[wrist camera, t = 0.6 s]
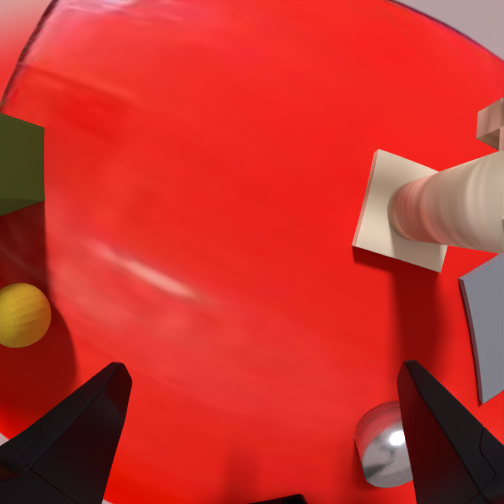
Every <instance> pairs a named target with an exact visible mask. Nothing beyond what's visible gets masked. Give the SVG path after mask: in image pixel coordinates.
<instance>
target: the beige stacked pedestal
mask: <svg viewBox="0 0 504 504" xmlns="http://www.w3.org/2000/svg"><path fill="white" fill-rule="evenodd" d="M476 139H478V140H480V141H482V142H484V143H486V144H487V145H489V146H491V147H493V148H495V149H496V150H498V151H499V152H496V153H493V154H490V155H487V156H484V157H481V158H478V159H475V160H473V161H470V162H467V163H464V164H461V165H458V166H455V167H452V168H449V169H446V170H444V171H441V172H438V171H435V170H433V169H430V168H428V167H426V166H423V165H421V164H418V163H415V162H413V161H410V160H408V159H405V158H402V157H400V156H397V155H394V154H391V153H388V152H386V151H383V150H380V149H378V150H377V151H376V152H375V153H374V157H373V162H372V167H371V171H370V176H369V180H368V184H367V189H366V193H365V197H364V201H363V205H362V209H361V213H360V217H359V221H358V224H357V228H356V232H355V236H354V239H353V243H352V245H353V246H356V247H360V248H363V249H366V250H370V251H373V252H376V253H379V254H383V255H386V256H389V257H392V258H396V259H399V260H402V261H405V262H408V263H412V264H415V265H418V266H421V267H424V268H427V269H430V270H434V271H437V272H441V269H442V265H443V261H444V258H445V254H446V250H447V246H455V247H462V248H468V249H475V250H481V251H488V252H494V253H500V254H504V97H503V98H501V99H499V100H498V101H496V102H494V103H493V104H491V105H489V106H488V107H486V108H484V109H483V110H481V111H479V112H478V122H477V137H476Z"/></svg>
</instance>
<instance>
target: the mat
mask: <svg viewBox="0 0 504 504" xmlns="http://www.w3.org/2000/svg"><path fill="white" fill-rule="evenodd" d="M459 282H460V286H461V290H462V294H463V298H464V302H465V307H466V312H467V316H468V321H469V326H470V332H471V337H472V343H473V350H474V356H475V363H476V371H477V380H478V390H479V400H480V401H481V402H482V403H483V404H484V403H485V402H487V401H488V400H490V399H491V398H493V397H494V396H496V395H497V394H499V393H500V392H501V391H503V390H504V254H498V255H497V256H495V257H494V258H492V259H490V260H489V261H487V262H486V263H484V264H482V265H481V266H479V267H477V268H476V269H474V270H472V271H470V272H469V273H467V274H465V275H464V276H462V277H460V278H459Z"/></svg>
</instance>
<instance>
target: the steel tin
mask: <svg viewBox="0 0 504 504" xmlns="http://www.w3.org/2000/svg"><path fill="white" fill-rule="evenodd" d="M354 436H355V441H356V445H357V449H358V453H359V457H360V461H361V465H362V469H363V473H364V476H365V479H366V480H367V482H368V483H370V484H371V485H373V486H376V487H382V488H389V487H395V486H399V485H402V484H405V483H407V482H409V481H411V480H413V477H412V471H411V466H410V461H409V456H408V451H407V446H406V441H405V437H404V432H403V427H402V420H401V411H400V403H399V401H390V402H386V403H383V404H380V405H378V406H376V407H374V408H373V409H371V410H370V411H368V412H367V413H366V414H365V415H364V416H363V417H362V418H361V420H360V421H359V422H358V424H357V426H356V429H355V435H354Z"/></svg>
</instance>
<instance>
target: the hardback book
mask: <svg viewBox="0 0 504 504" xmlns="http://www.w3.org/2000/svg"><path fill="white" fill-rule="evenodd" d="M42 201H45V196H44V127H41V126H38V125H35V124H32V123H29V122H26V121H23V120H20V119H17V118H14V117H11V116H8V115H5V114H2V113H0V216H1V215H4V214H7V213H10V212H12V211H15V210H18V209H21V208H24V207H27V206H30V205H33V204H36V203H39V202H42Z"/></svg>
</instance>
